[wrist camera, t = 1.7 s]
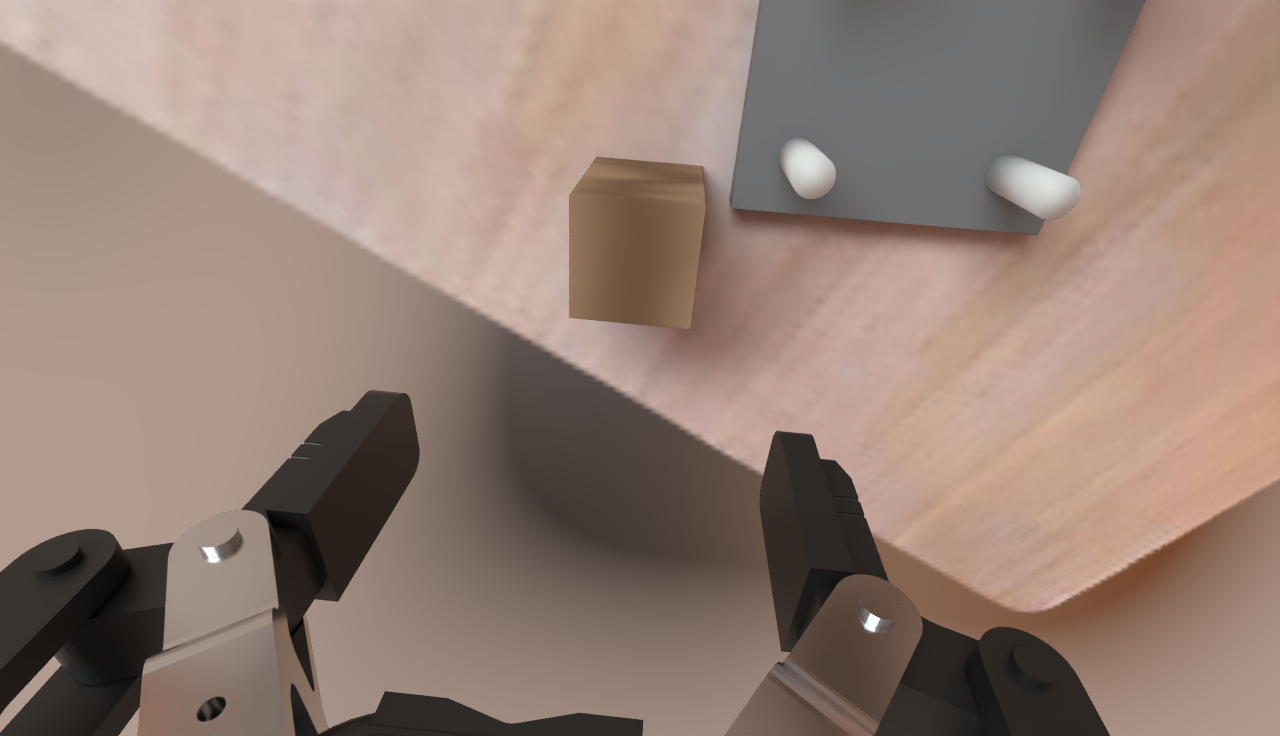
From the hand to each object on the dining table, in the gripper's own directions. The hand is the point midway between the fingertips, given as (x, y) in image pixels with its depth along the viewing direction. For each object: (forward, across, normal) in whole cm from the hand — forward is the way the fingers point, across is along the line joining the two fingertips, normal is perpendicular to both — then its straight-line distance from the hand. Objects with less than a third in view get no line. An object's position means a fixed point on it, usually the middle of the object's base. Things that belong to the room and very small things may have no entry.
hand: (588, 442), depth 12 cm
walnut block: (+18, 0, 0) cm, 18 cm away
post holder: (+18, -11, -8) cm, 22 cm away
